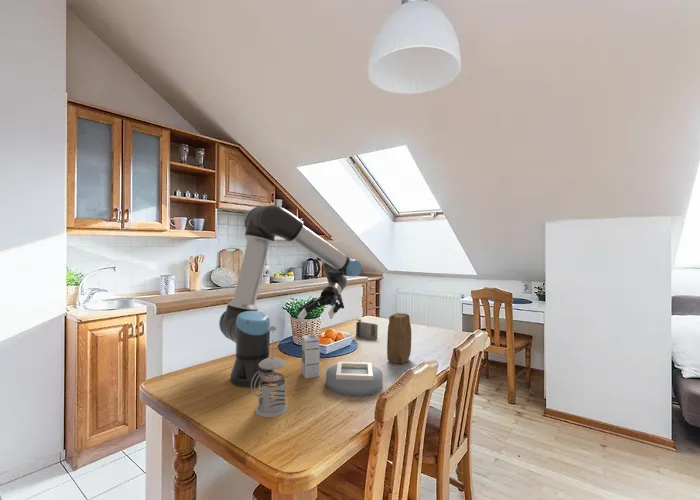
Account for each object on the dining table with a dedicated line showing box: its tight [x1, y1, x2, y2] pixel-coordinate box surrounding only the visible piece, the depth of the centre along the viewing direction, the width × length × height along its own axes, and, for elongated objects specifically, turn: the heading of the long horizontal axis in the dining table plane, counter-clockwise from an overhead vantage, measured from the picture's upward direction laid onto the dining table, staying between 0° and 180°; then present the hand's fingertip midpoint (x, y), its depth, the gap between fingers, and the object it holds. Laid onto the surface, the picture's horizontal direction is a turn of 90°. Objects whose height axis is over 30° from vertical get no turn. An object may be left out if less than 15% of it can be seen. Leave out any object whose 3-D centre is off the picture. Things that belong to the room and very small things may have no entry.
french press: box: [250, 325, 289, 418], centre depth 102 cm, size 10×12×25 cm
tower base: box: [325, 361, 384, 397], centre depth 123 cm, size 20×20×6 cm
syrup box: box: [301, 334, 321, 379], centre depth 129 cm, size 6×6×14 cm
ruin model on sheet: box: [355, 318, 379, 340], centre depth 181 cm, size 11×3×10 cm, turn 59°
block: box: [386, 312, 412, 365], centre depth 147 cm, size 11×8×20 cm
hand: (314, 317), depth 137 cm, fingers open, 13 cm apart
